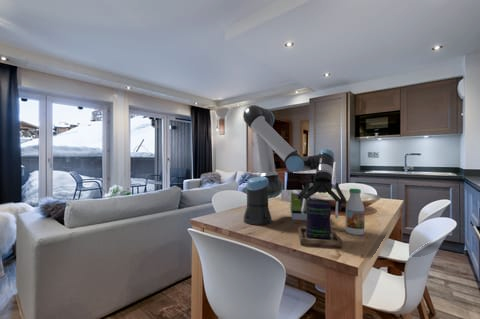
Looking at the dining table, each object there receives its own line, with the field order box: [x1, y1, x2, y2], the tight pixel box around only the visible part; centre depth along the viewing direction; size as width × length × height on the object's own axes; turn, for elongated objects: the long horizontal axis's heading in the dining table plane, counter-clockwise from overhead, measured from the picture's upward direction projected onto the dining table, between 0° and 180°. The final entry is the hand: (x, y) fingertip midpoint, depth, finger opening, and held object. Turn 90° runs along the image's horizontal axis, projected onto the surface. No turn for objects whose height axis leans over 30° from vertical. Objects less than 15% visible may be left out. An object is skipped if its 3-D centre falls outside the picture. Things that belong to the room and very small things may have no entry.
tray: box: [297, 226, 343, 249], centre depth 94 cm, size 15×15×2 cm
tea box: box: [289, 189, 311, 221], centre depth 131 cm, size 15×10×15 cm
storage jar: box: [305, 199, 332, 240], centre depth 94 cm, size 10×10×15 cm
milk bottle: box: [345, 188, 366, 236], centre depth 103 cm, size 8×8×20 cm
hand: (318, 214), depth 95 cm, fingers open, 13 cm apart
